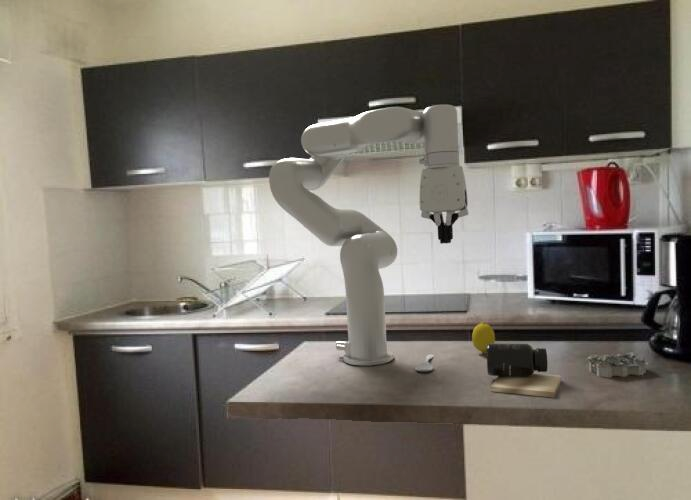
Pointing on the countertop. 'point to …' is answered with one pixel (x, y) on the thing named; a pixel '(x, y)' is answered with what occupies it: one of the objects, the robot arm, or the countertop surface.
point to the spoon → (425, 364)
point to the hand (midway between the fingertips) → (445, 242)
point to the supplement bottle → (515, 359)
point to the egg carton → (617, 365)
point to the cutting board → (528, 384)
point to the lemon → (482, 337)
